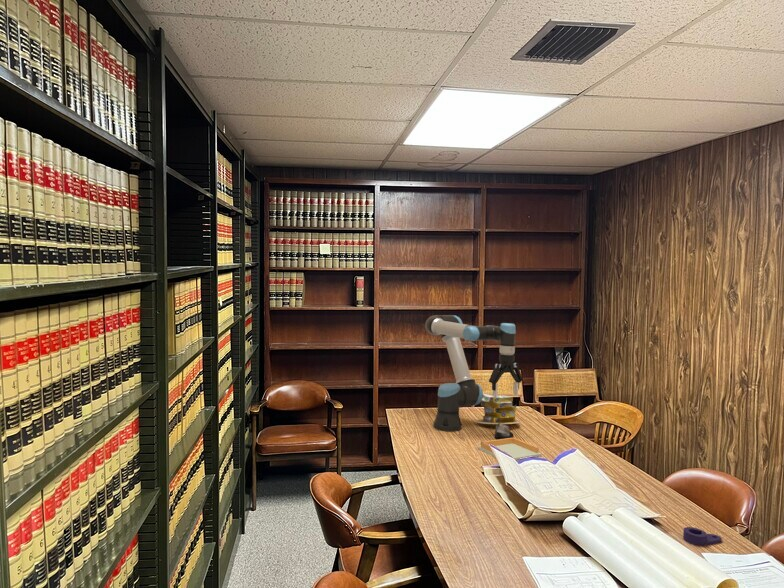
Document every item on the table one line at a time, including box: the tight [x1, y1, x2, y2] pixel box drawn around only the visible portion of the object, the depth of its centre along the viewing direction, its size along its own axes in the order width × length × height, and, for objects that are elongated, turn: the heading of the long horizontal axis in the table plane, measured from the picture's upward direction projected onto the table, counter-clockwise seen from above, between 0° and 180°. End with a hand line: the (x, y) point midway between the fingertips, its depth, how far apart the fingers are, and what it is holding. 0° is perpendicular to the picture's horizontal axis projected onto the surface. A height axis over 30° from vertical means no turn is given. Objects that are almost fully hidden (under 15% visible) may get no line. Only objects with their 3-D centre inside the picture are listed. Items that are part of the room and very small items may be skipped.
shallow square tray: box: [477, 437, 542, 459], centre depth 244 cm, size 20×21×4 cm
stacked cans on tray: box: [475, 393, 522, 426], centre depth 294 cm, size 25×25×17 cm
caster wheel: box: [494, 422, 515, 440], centre depth 266 cm, size 7×11×10 cm
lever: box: [682, 526, 723, 547], centre depth 164 cm, size 12×6×3 cm, turn 99°
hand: (505, 395), depth 265 cm, fingers open, 13 cm apart
